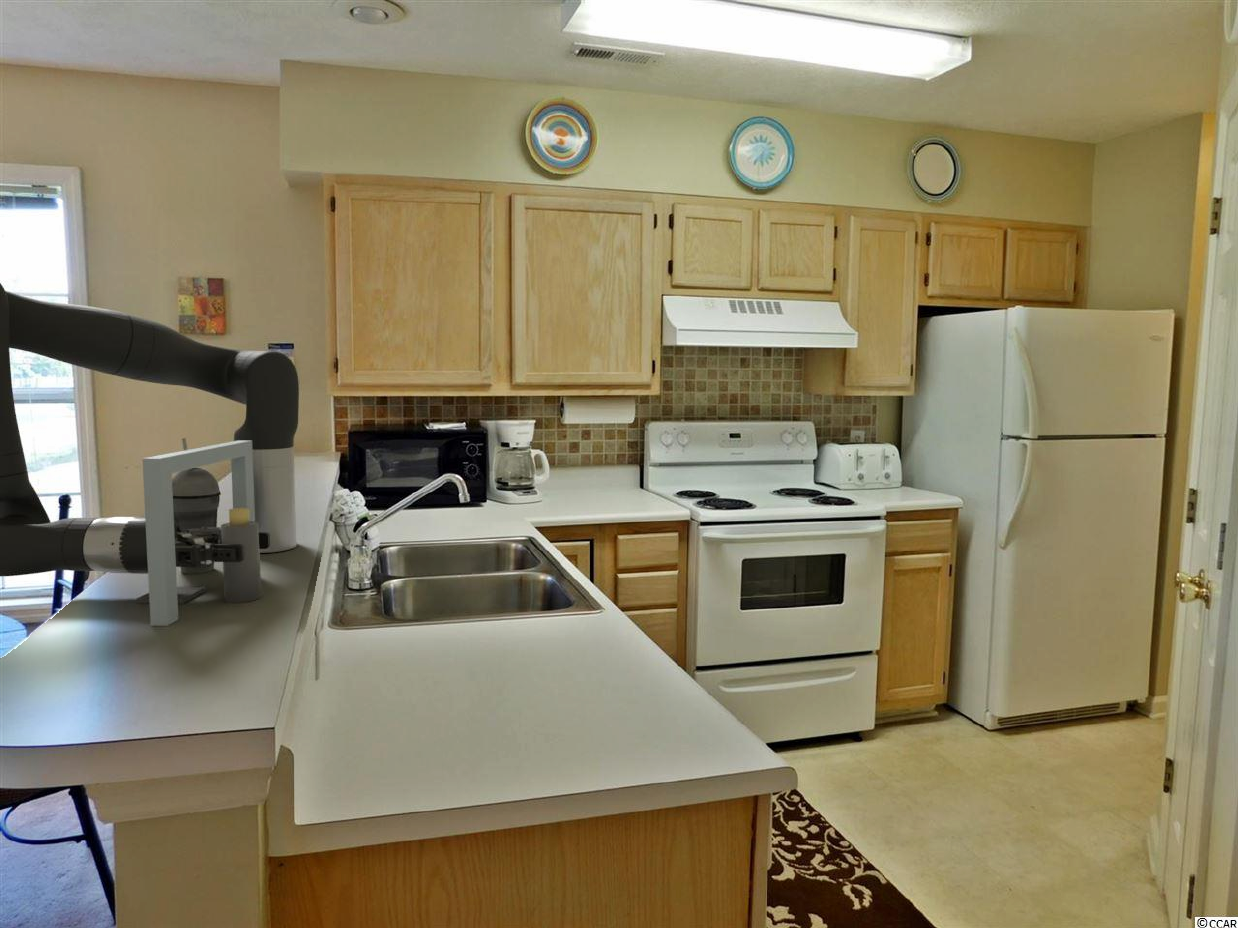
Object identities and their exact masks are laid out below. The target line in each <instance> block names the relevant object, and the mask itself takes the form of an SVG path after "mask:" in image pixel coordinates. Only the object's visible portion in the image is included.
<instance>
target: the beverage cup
mask: <svg viewBox="0 0 1238 928" xmlns="http://www.w3.org/2000/svg"><path fill="white" fill-rule="evenodd" d="M181 442H182V448H183V451H185V450H188V445H187V437H184V438H181ZM172 492H173V514H174V521H175V522H176V523H177V525H178V527H179V529H180V530H181V532H187V529H194V528H199V529H201V528H203V527H218V525H217V524H218V510H219V509H218V508H219V506H220V500H221V499H220V496H221V494H222V493H221V491H220V486H219V483H218V480H217V479H216V478H215V476H214V475H213V474H212V473H211V472H210V471H208V470H206V469H204V468H201V467H196V468H192V469H187V470H183V471H179V472H176V474H175V475H174V476H172ZM214 570H215V562H214V560H213V563H210V564H203V563H202V564H201V566H199V567H196V568H194V567H180V572H181V573H182V574H186V575H187V574H188V575H189V574H191V575H192V574H193V575H194V574H195V575H196V574H203V573H208V572H212V571H214Z"/></svg>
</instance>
